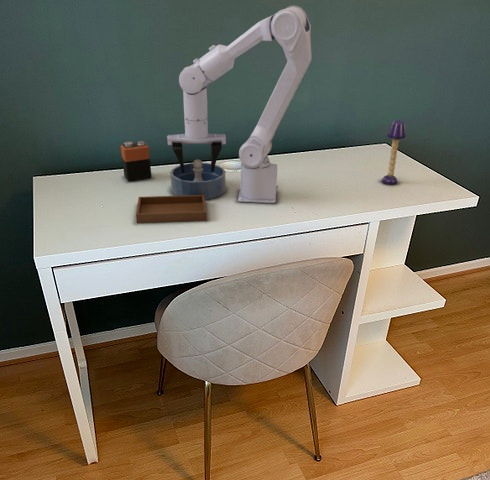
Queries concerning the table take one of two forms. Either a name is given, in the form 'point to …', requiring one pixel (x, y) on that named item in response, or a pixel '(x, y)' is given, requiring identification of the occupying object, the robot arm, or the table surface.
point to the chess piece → (198, 170)
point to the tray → (171, 209)
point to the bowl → (208, 187)
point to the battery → (136, 161)
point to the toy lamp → (394, 149)
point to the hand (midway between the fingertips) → (197, 171)
